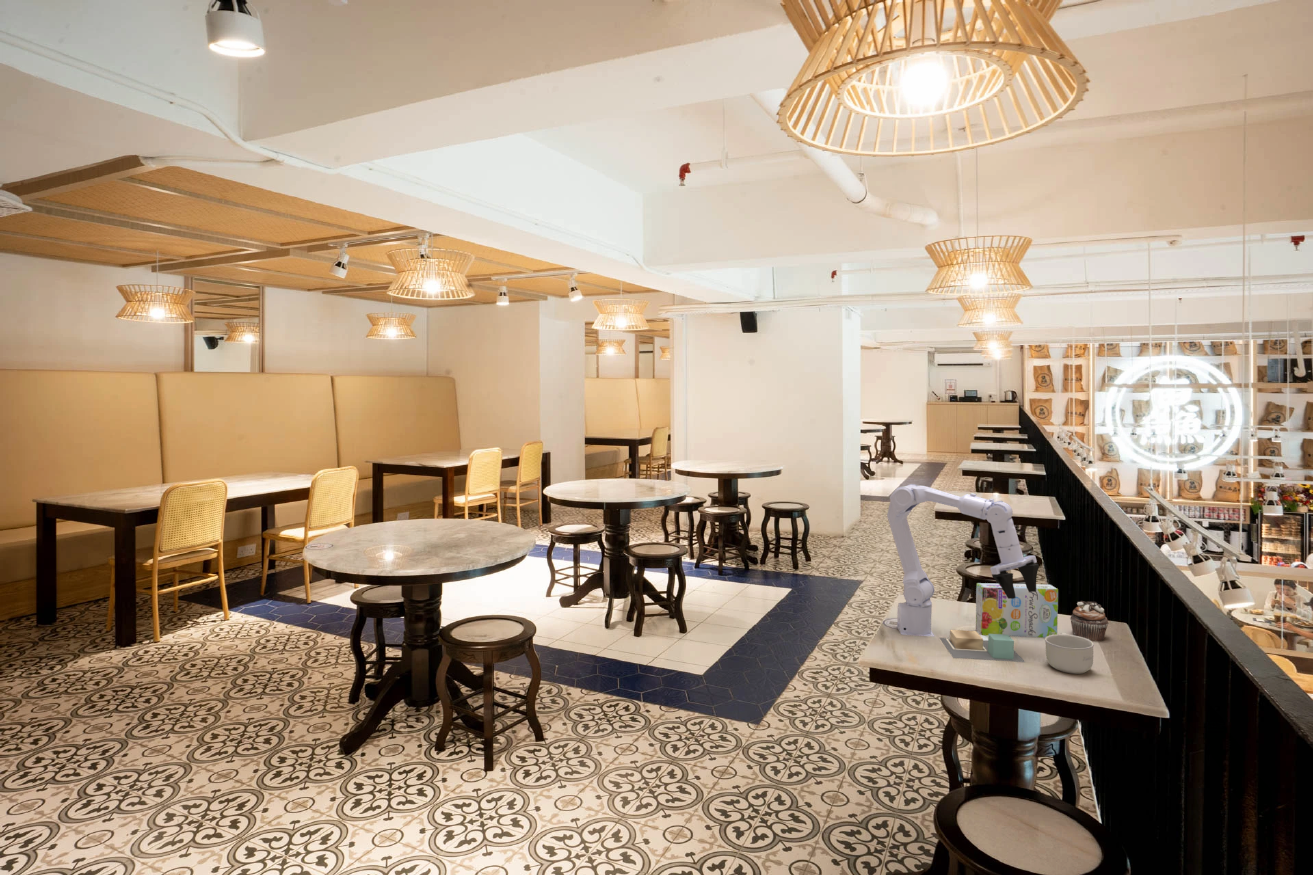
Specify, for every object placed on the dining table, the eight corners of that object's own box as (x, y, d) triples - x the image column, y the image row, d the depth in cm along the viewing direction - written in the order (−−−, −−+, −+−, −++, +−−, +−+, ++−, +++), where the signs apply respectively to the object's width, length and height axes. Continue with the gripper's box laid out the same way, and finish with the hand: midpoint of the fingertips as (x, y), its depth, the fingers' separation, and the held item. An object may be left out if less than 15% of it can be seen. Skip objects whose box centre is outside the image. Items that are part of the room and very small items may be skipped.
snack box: (1048, 633, 210) (1050, 583, 209) (1057, 640, 204) (1059, 588, 203) (974, 631, 212) (976, 581, 211) (981, 637, 206) (982, 586, 205)
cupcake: (1062, 630, 212) (1064, 597, 212) (1095, 631, 212) (1096, 598, 211) (1080, 641, 203) (1082, 607, 202) (1115, 642, 202) (1116, 607, 202)
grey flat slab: (953, 659, 188) (953, 657, 188) (939, 639, 204) (939, 637, 204) (1025, 664, 185) (1025, 661, 185) (1006, 643, 201) (1006, 641, 201)
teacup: (1092, 682, 174) (1093, 650, 173) (1042, 672, 180) (1043, 642, 179) (1092, 664, 186) (1094, 634, 185) (1046, 656, 191) (1046, 627, 191)
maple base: (956, 648, 195) (956, 637, 195) (949, 639, 202) (950, 629, 202) (982, 649, 194) (983, 639, 194) (975, 641, 201) (976, 631, 201)
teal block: (993, 658, 188) (993, 639, 188) (987, 651, 193) (988, 633, 193) (1013, 659, 187) (1014, 640, 187) (1007, 652, 192) (1007, 634, 192)
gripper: (999, 550, 187) (1013, 601, 185) (1039, 539, 192) (1053, 588, 191) (979, 551, 194) (993, 600, 192) (1019, 540, 199) (1032, 588, 197)
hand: (1022, 594), depth 192 cm, fingers open, 7 cm apart
